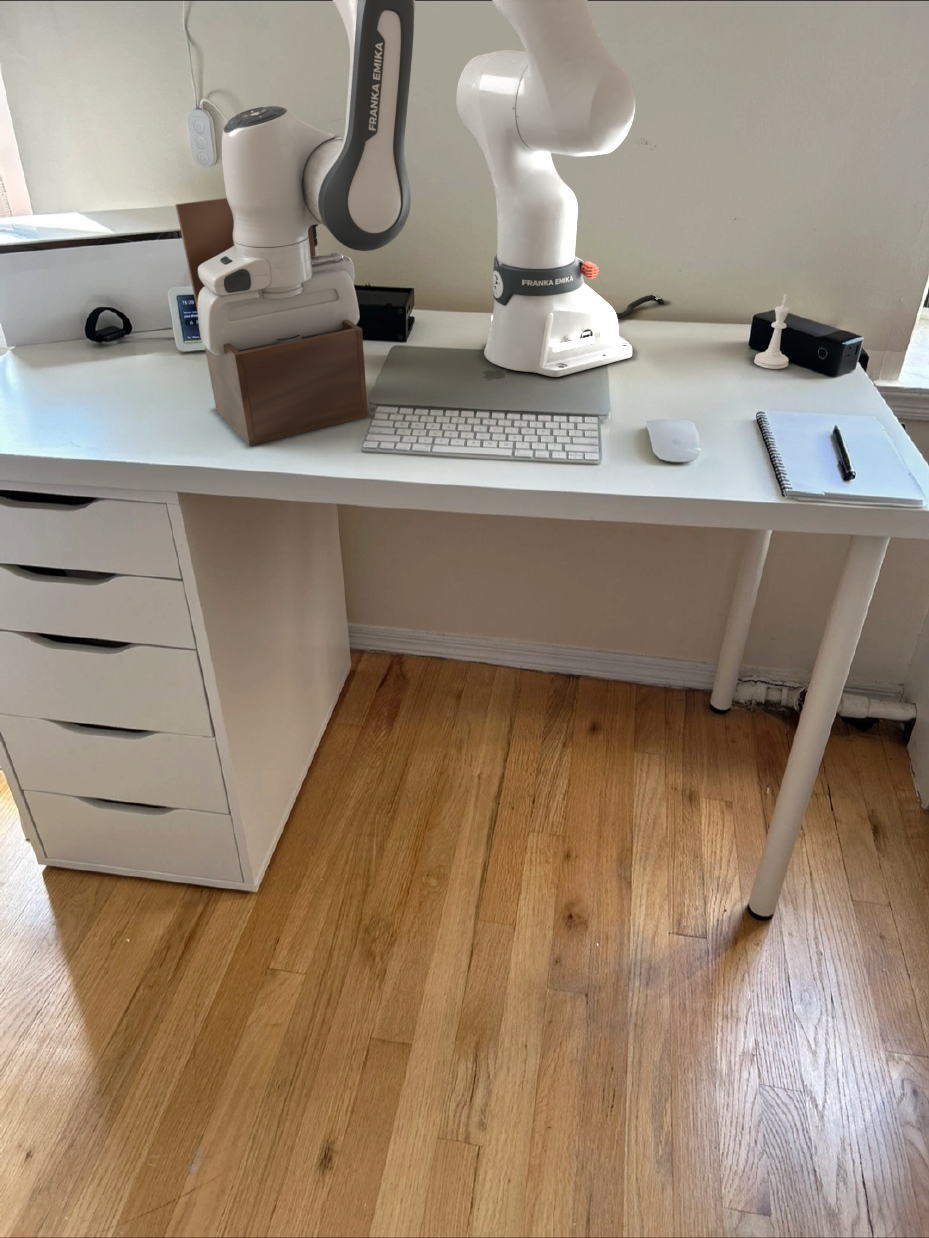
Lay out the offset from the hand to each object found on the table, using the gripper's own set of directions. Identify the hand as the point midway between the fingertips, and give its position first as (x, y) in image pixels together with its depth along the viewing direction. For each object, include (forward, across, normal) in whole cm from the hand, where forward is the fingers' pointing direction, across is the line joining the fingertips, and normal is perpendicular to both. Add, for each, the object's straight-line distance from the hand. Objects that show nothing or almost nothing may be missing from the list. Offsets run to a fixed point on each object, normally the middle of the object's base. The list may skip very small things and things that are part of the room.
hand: (288, 373), depth 117 cm
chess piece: (+6, -68, +21) cm, 71 cm away
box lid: (-13, 0, -7) cm, 15 cm away
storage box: (+6, 0, 0) cm, 6 cm away
